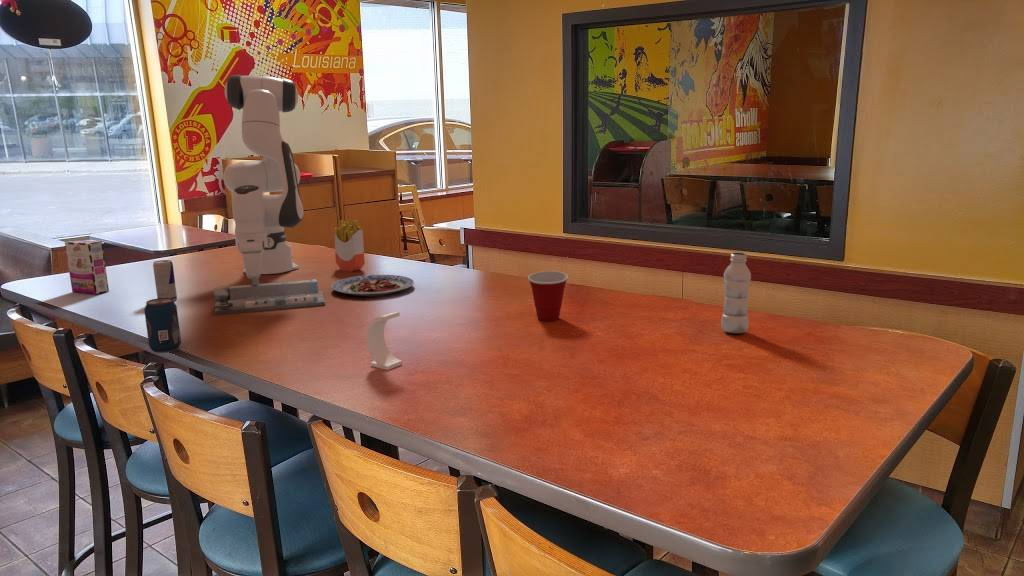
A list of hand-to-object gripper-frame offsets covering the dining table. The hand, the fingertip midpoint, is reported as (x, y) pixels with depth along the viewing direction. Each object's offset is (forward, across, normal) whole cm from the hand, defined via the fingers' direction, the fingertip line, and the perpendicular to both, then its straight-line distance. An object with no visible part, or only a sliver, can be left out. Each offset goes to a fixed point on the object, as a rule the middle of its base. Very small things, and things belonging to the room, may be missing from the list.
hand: (256, 287), depth 216 cm
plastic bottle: (+5, +77, +114) cm, 138 cm away
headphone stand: (+5, +71, +28) cm, 76 cm away
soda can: (+4, +42, -20) cm, 47 cm away
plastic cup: (+4, +49, +75) cm, 90 cm away
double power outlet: (+4, +6, +4) cm, 8 cm away
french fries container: (+4, -35, +31) cm, 47 cm away
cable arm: (+2, +6, +3) cm, 7 cm away
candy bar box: (+4, -31, -51) cm, 60 cm away
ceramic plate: (+5, -2, +35) cm, 35 cm away
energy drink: (+4, -10, -26) cm, 28 cm away
